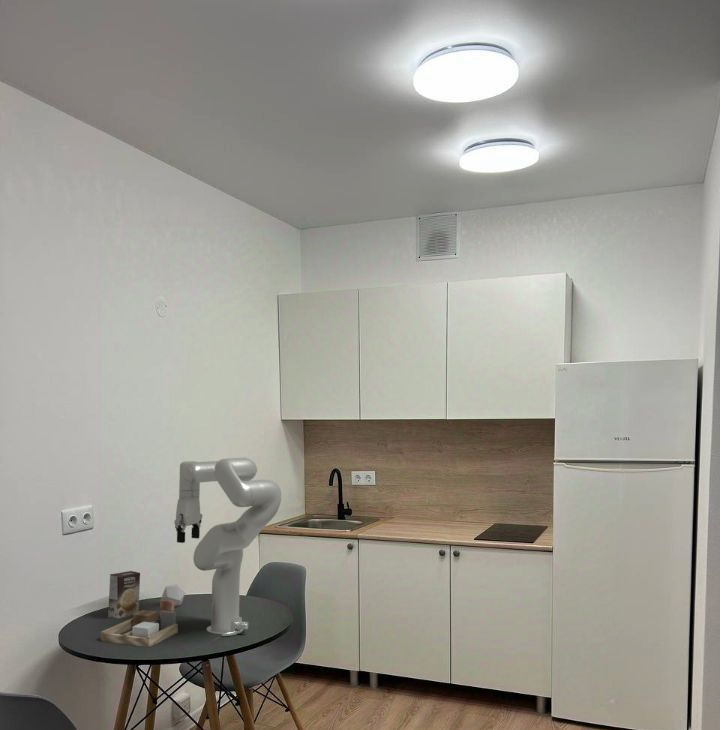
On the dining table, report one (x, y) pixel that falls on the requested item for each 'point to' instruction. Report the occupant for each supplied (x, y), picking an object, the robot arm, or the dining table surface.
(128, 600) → the coffee box
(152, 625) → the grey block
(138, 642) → the lane shelf
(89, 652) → the dining table surface
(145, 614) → the walnut block
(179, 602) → the die
